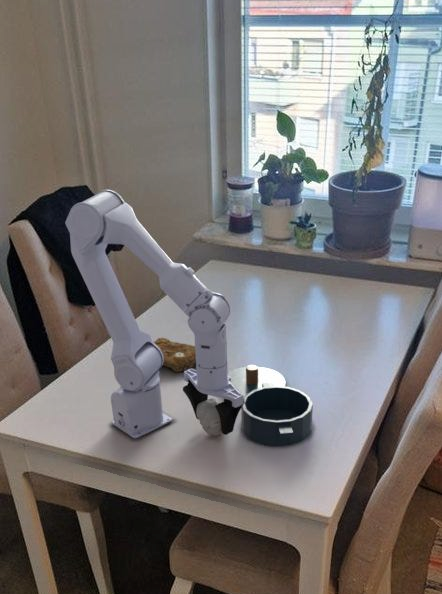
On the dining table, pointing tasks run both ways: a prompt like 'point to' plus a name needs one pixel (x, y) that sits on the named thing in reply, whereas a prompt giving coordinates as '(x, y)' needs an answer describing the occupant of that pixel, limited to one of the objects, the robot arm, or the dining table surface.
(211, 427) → the grey lumpy piece
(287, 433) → the pan
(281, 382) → the pan lid
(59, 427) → the dining table surface
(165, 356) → the decorative rock
